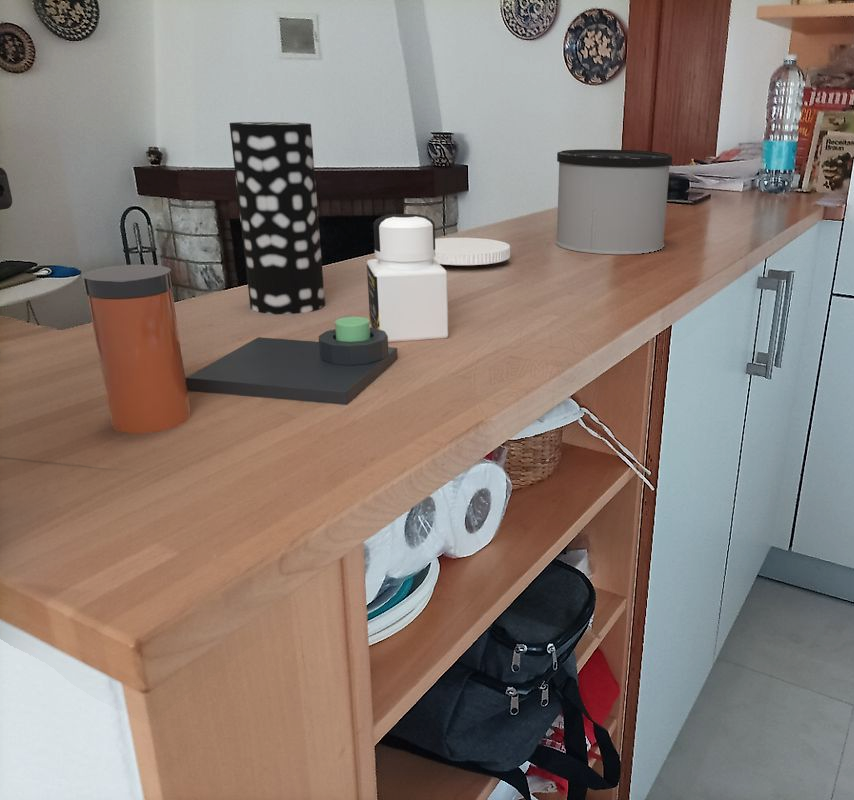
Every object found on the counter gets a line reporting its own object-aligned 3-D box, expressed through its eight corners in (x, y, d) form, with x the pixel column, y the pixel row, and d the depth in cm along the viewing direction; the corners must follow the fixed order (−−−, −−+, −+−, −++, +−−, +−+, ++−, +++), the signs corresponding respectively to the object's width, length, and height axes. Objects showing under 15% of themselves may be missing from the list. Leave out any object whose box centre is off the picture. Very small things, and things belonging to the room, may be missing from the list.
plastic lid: (475, 276, 107) (475, 258, 107) (396, 264, 114) (395, 247, 113) (527, 260, 119) (527, 243, 118) (452, 250, 125) (451, 234, 124)
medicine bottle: (369, 325, 84) (363, 211, 79) (435, 320, 86) (432, 210, 82) (378, 344, 78) (372, 221, 73) (449, 339, 80) (446, 219, 75)
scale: (186, 391, 64) (181, 356, 63) (259, 348, 75) (256, 318, 74) (347, 405, 62) (344, 370, 61) (397, 359, 73) (396, 328, 72)
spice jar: (92, 431, 56) (62, 278, 52) (142, 403, 62) (117, 262, 58) (163, 438, 56) (137, 283, 52) (207, 409, 61) (187, 266, 57)
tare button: (330, 343, 69) (329, 324, 68) (344, 333, 72) (343, 315, 71) (363, 345, 68) (361, 326, 68) (375, 336, 71) (374, 317, 70)
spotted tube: (338, 306, 91) (325, 124, 84) (273, 318, 85) (253, 125, 78) (301, 293, 96) (285, 122, 89) (237, 304, 91) (215, 122, 83)
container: (669, 239, 140) (676, 151, 135) (660, 258, 123) (668, 158, 118) (566, 233, 144) (569, 147, 139) (544, 250, 127) (546, 154, 121)
